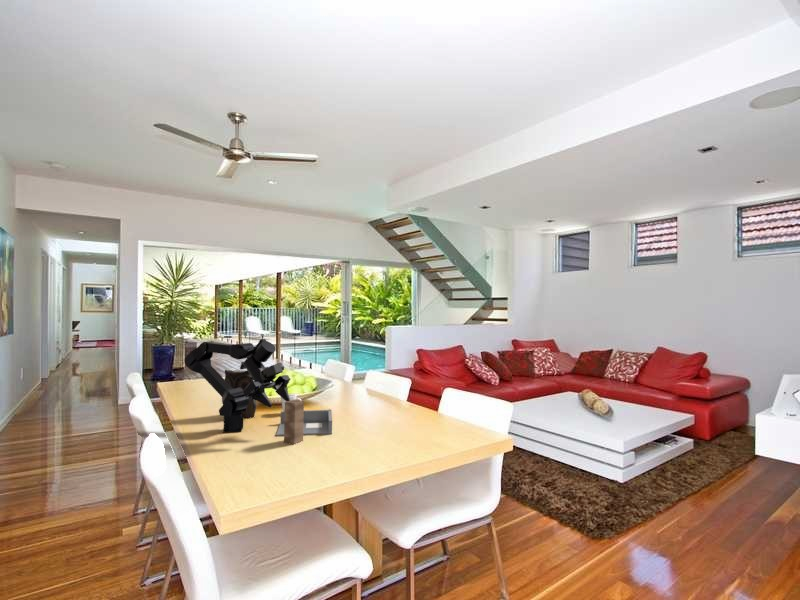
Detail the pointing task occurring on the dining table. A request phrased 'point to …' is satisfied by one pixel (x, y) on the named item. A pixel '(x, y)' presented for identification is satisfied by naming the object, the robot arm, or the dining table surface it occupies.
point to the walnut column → (293, 421)
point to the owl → (242, 381)
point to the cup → (292, 397)
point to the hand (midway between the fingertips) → (280, 403)
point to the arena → (312, 422)
